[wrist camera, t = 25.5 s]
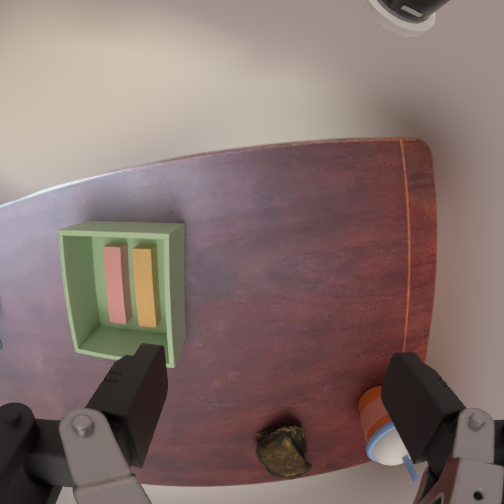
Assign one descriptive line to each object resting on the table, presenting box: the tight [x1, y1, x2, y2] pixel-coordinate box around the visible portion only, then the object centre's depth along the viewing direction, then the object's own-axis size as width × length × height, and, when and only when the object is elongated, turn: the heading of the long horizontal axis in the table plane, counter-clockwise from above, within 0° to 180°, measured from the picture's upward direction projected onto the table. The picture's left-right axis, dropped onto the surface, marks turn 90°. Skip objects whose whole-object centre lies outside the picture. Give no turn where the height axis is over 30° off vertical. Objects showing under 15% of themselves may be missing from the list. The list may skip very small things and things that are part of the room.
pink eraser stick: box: [103, 243, 132, 324], centre depth 36 cm, size 10×2×2 cm, turn 177°
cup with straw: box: [358, 386, 419, 481], centre depth 33 cm, size 9×9×18 cm
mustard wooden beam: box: [132, 244, 161, 328], centre depth 36 cm, size 10×2×2 cm, turn 178°
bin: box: [59, 221, 186, 368], centre depth 34 cm, size 15×13×8 cm
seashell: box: [256, 426, 312, 479], centre depth 41 cm, size 16×9×7 cm, turn 14°
